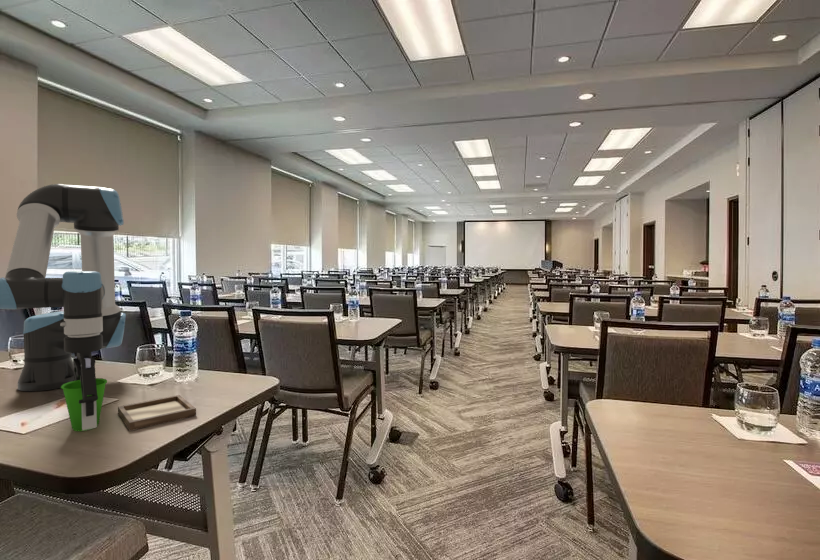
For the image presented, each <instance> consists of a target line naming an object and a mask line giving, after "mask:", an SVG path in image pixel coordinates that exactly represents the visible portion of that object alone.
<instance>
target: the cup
mask: <svg viewBox="0 0 820 560" xmlns="http://www.w3.org/2000/svg"><path fill="white" fill-rule="evenodd" d="M107 383H108V380H107V379H106V378H100V377H96V387H97V396H98V399H97V400H96V410H97V427H98V426H99V424H100V420H101V419H100V418H101V415H102V414H101V413H102V408H103V401H104V395H105V391H106V384H107ZM60 389H62V390H63V391H62V392H63V395H64V399H65V405H66V407H67V412H68V416H69V420H70V426H71V429H72V430H73V431H74V432H85V431H90V430H92V429H94V428H92V429H87V430H82V404H79V400H82V390H81V381H80V380H76V381H72V382H68V383H66V384H63V385H62V386H61V388H60ZM88 396H92V395H88Z"/></svg>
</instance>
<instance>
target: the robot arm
mask: <svg viewBox="0 0 820 560" xmlns="http://www.w3.org/2000/svg"><path fill="white" fill-rule="evenodd" d="M16 217H17V218H16V219H17V221H18V222H19V223H18V226H17V231H16V233H15V234H16V235H15V237H14V241H13V244H12V245H13V246H12V249H11V253H10V258H9V261H8V265H7V268H6V272H5V277H0V310H21V309H23V310H24V309H41V308H62V309H63V311H62V310H61V311H55V312H47V313H42V314H37V315H32V316H29V317H28V318H26V319H25V320H24V321H23V331H22V334H23V352H24V353H23V355H24V365H23V367H22V369H21V372H20V375H19V378H18V381H17V391H20V392H21V391H22V392H44V391H51V390H56V389H57V390H58V389H62V388H61V386H62V385H63V384H66V383H68V382H72V381H76V380H80V381H81V390H82V400H79V404H82V430H86V431H88V430H87V429H90V430H92V428H93V429H95V428H98V426H97V410H96V400H97V399H98V396H97V387H96V378H97V376H96V358H95V357H94V356H93V355H92V353H93V352H98V351H100V350H102V349H110V348H116V347H119V346H121V345H122V343H123V338H124V333H125V326H126V317H127V314H126V312H121V311H122V309H121V307H120V306H119V305H117V303H116V290H115V289H116V288H115V287H116V286H115V284H116V283H115V257H114V255H115V253H114V235H115V234H116V233H117V232H119V229H120V228H119V226H124V223H125V222H124V216H123V209H122V203H121V198H120V195H119V192H118V191H117V190H115V189H113V188H107V187H102V186H92V185H91V186H90V185H89V186H88V185H76V184H74V185H73V184H65V183H64V184H63V183H54V184H53V183H52V184H47V185H44V186H41V187H39V188H37V189H35V190H33V191H32V192H30V193H29V194H27V195H26V196H25V197H24V198H23V199H22V200H21V202H20V203H19V205H18V207H17V211H16ZM60 223H69V224H70V223H71V224H73V229H74V231H76V232H77V233H79V235H80V251H81V252H80V253H81V270H76V271H75V270H73V271H72V270H71V271H66V272H64V273H63V275H62V277H46V276H47V272H48V264H49V259H50V255H51V248H52V243H53V237H54V233H55V232H54V231H55V229H56V228H57V227H58V226H59V224H60ZM72 354H73V355H74V358H73V357H72ZM88 395H92V396H88Z"/></svg>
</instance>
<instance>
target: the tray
mask: <svg viewBox="0 0 820 560" xmlns="http://www.w3.org/2000/svg"><path fill="white" fill-rule="evenodd" d="M117 415H118V416H119V417H120V419H121V420H122V422H123V423H124V425H125V426H126V428H127V429H128V430H129V431H130V432H131V431H135V430H140V429H144V428H149V427H154V426H159V425H161V424H166V423H171V422H175V421H180V420H184V419H189V418H192V417H197V407H195V406H194V405H192V404H191V403H190V402H189V401H188V400H187V399H185V398H184V397H183V396H182V395H180V394H177V395H172V396H167V397H160V398H156V399H150V400H145V401H140V402H135V403H134V402H133V403H130V404H129V403H128V404H124V405H119V406H117Z"/></svg>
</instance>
